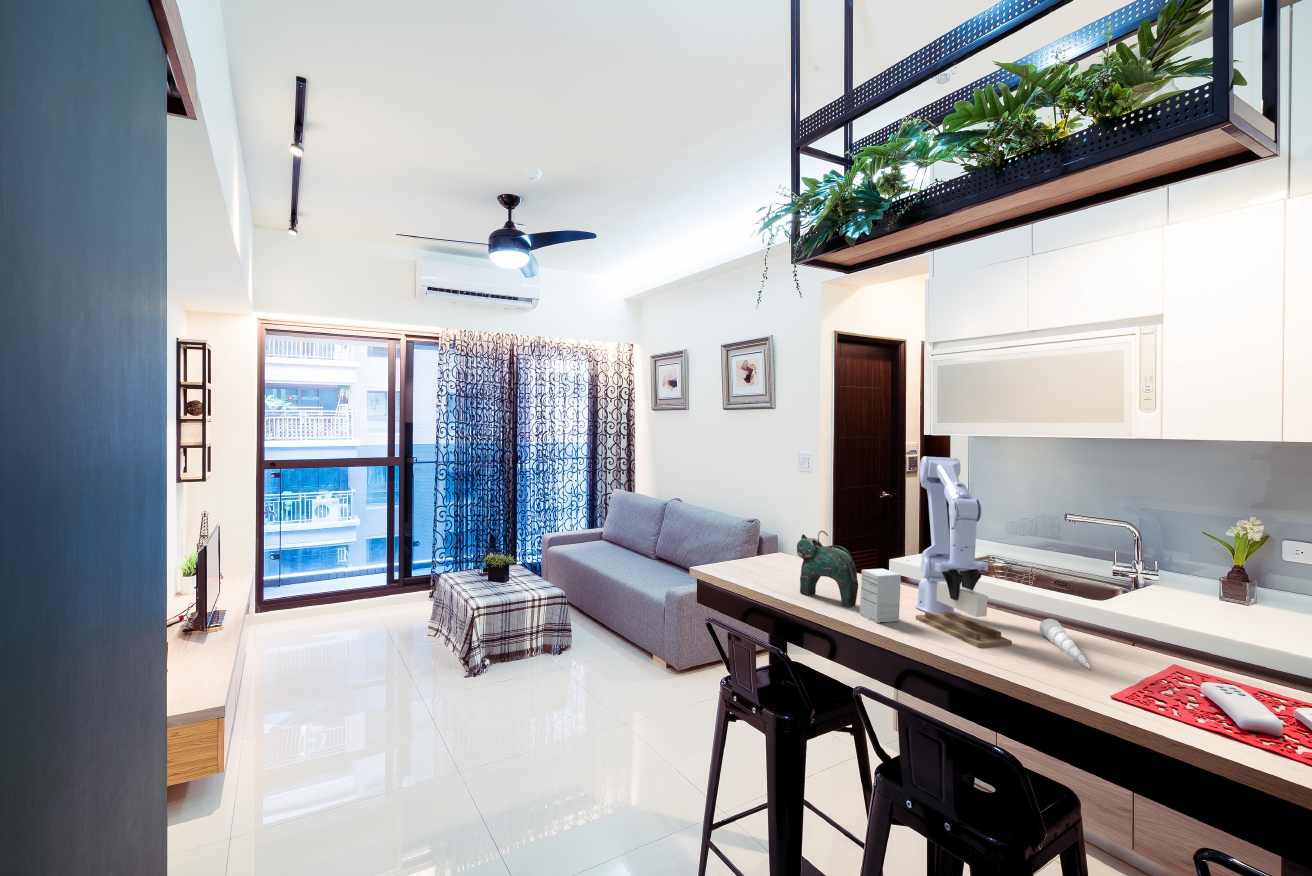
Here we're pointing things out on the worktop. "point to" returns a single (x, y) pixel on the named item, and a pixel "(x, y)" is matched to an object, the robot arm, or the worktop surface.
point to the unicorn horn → (1062, 640)
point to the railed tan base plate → (964, 629)
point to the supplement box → (880, 595)
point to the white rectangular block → (963, 600)
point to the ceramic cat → (827, 568)
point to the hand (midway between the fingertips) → (960, 598)
